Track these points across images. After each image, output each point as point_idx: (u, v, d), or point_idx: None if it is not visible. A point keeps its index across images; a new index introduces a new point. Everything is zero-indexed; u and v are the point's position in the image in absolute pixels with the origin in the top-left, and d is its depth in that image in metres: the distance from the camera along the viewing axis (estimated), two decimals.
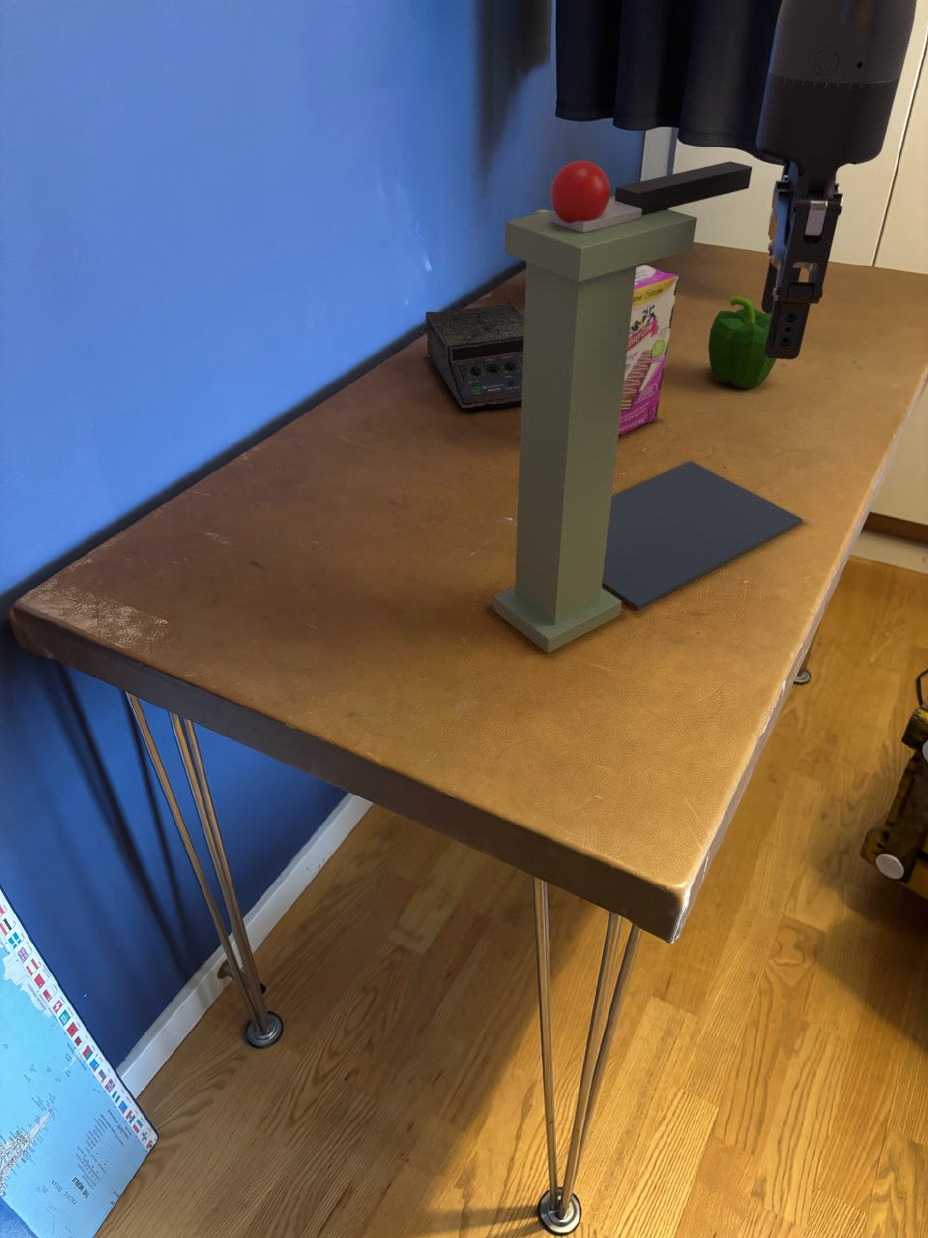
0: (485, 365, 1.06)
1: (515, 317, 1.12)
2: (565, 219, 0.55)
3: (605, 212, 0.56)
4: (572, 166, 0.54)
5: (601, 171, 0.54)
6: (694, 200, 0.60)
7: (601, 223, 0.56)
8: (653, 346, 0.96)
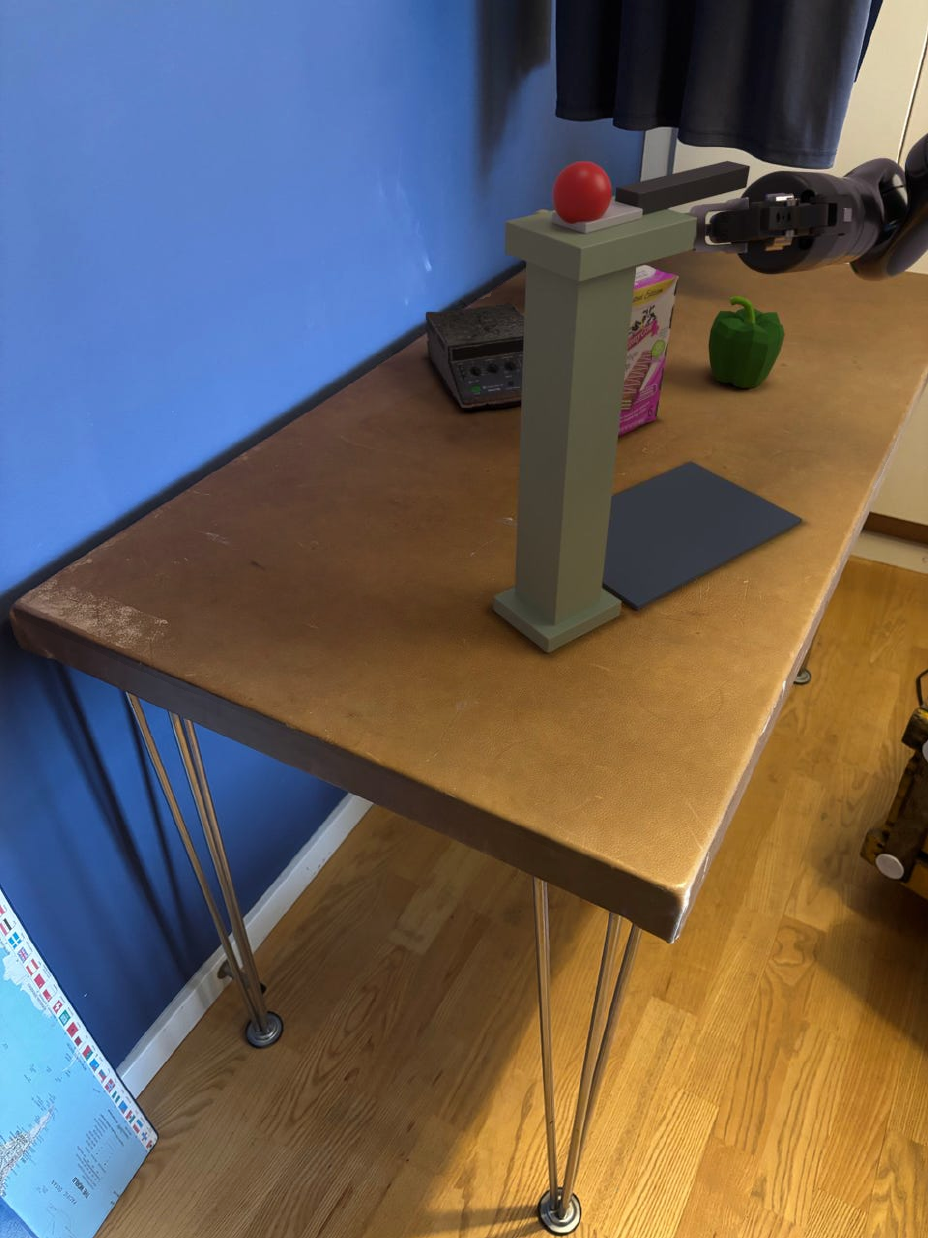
0: (485, 365, 1.06)
1: (515, 317, 1.12)
2: (567, 220, 0.55)
3: (606, 212, 0.56)
4: (574, 167, 0.54)
5: (603, 171, 0.54)
6: (693, 200, 0.60)
7: (603, 223, 0.55)
8: (653, 346, 0.96)
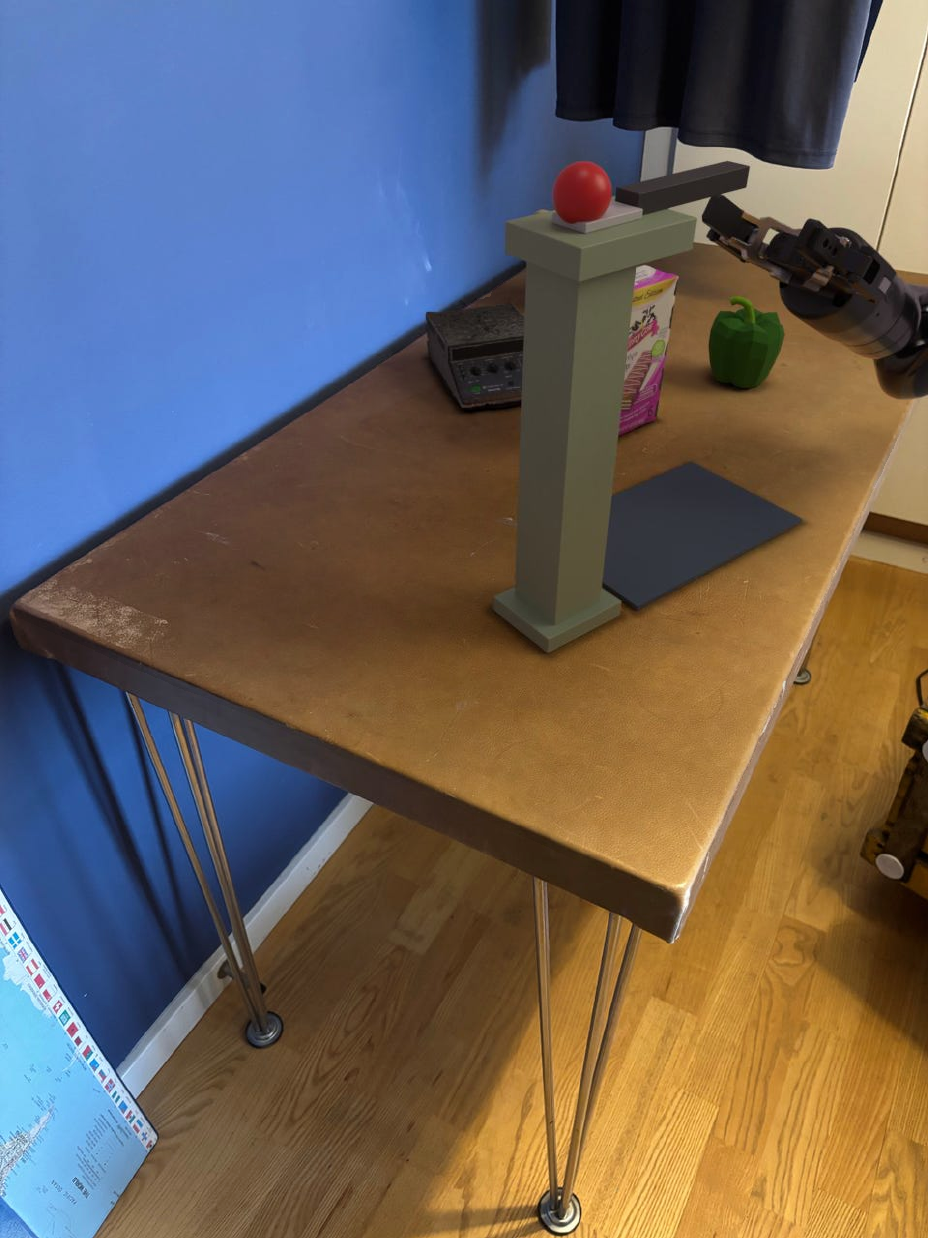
0: (485, 365, 1.06)
1: (515, 317, 1.12)
2: (567, 220, 0.55)
3: (606, 212, 0.56)
4: (574, 167, 0.54)
5: (603, 171, 0.54)
6: (693, 200, 0.60)
7: (603, 223, 0.55)
8: (653, 346, 0.96)
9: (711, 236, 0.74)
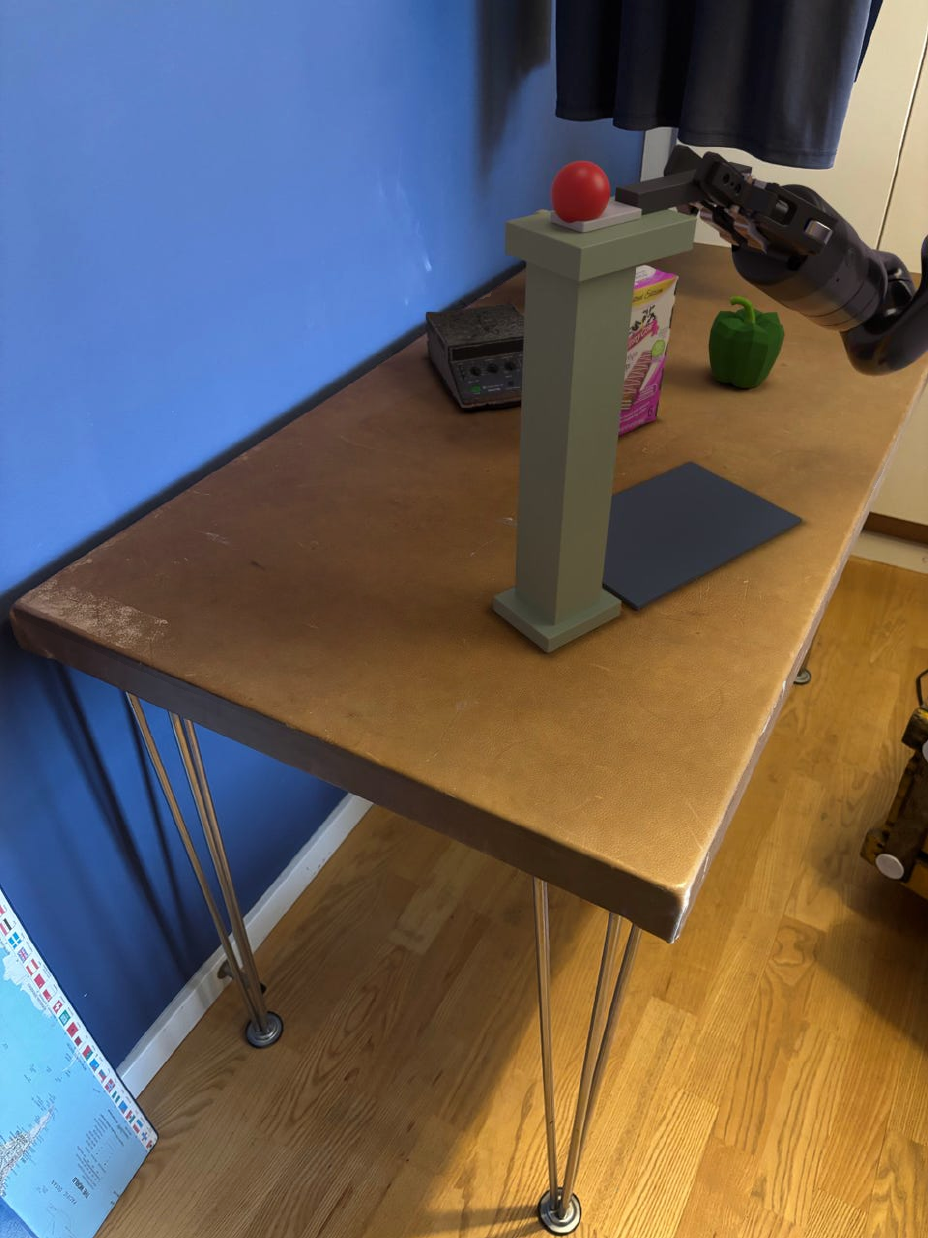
0: (485, 365, 1.06)
1: (515, 317, 1.12)
2: (565, 219, 0.55)
3: (605, 212, 0.56)
4: (572, 166, 0.54)
5: (601, 171, 0.54)
6: (694, 200, 0.60)
7: (601, 223, 0.55)
8: (653, 346, 0.96)
9: None
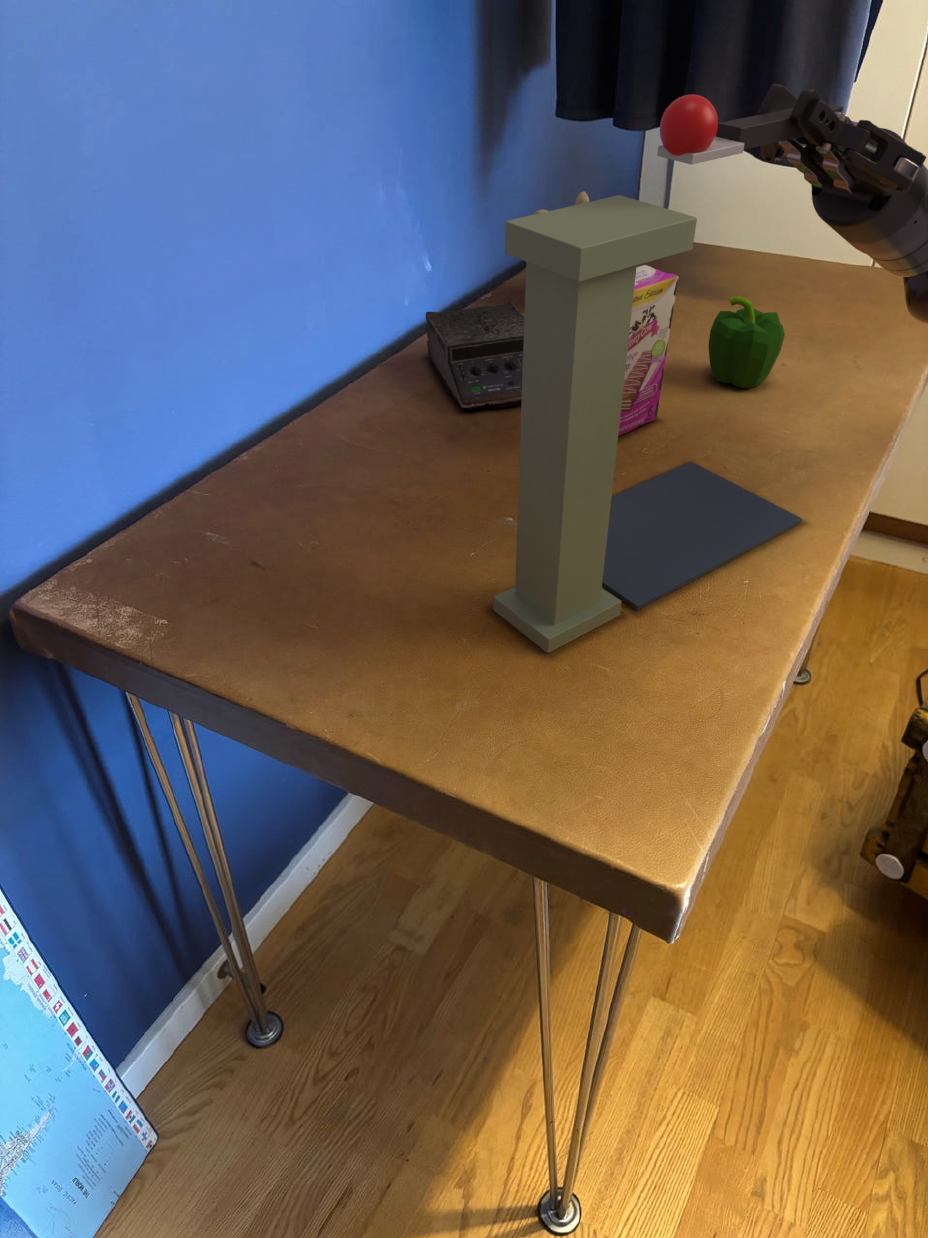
0: (485, 365, 1.06)
1: (515, 317, 1.12)
2: (674, 151, 0.58)
3: (710, 146, 0.59)
4: (684, 99, 0.56)
5: (711, 104, 0.57)
6: (790, 137, 0.63)
7: (708, 155, 0.58)
8: (653, 346, 0.96)
9: None
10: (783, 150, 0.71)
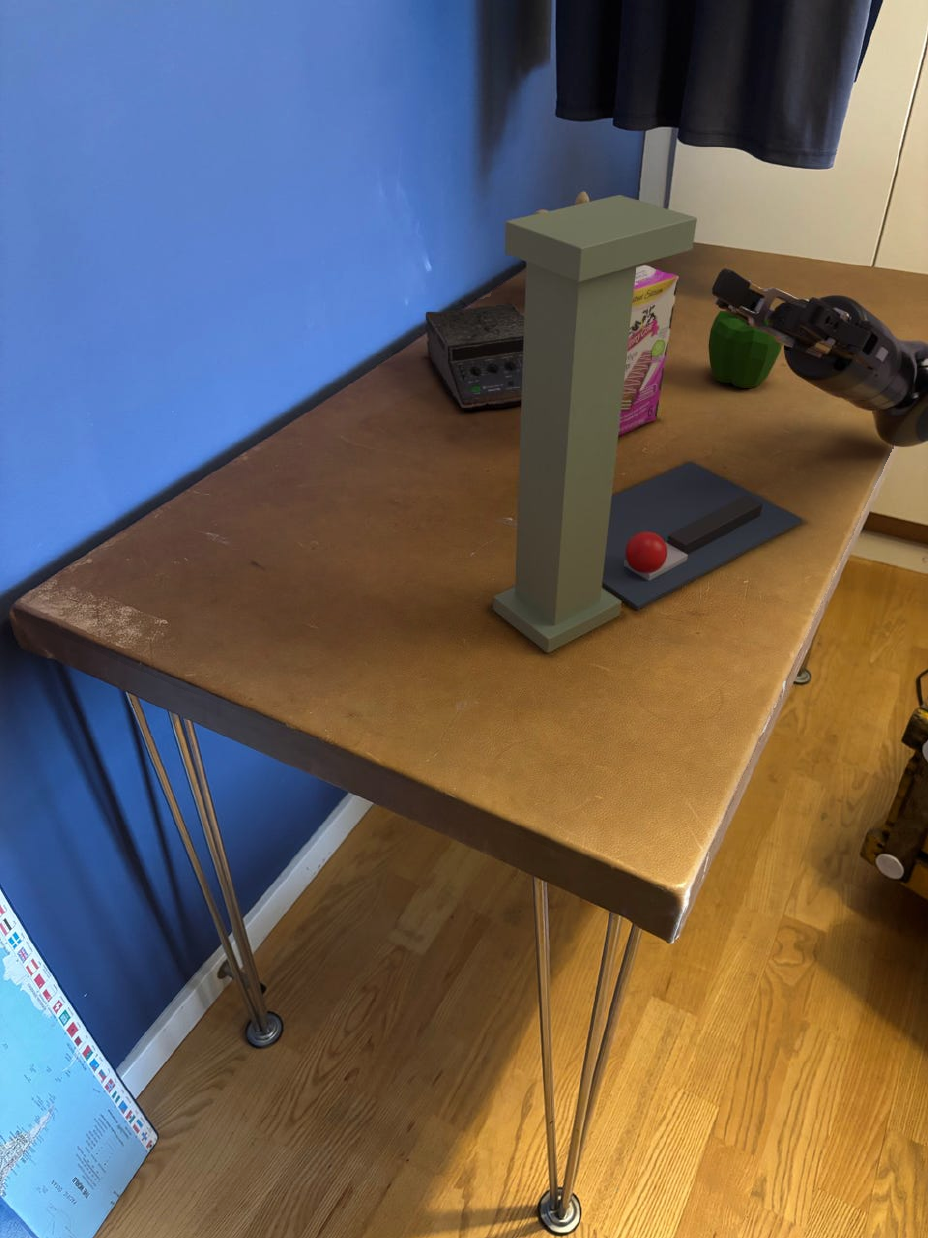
0: (485, 365, 1.06)
1: (515, 317, 1.12)
2: (636, 570, 0.79)
3: None
4: (642, 540, 0.77)
5: (662, 542, 0.78)
6: (722, 535, 0.84)
7: (661, 572, 0.79)
8: (653, 346, 0.96)
9: (720, 304, 0.79)
10: None
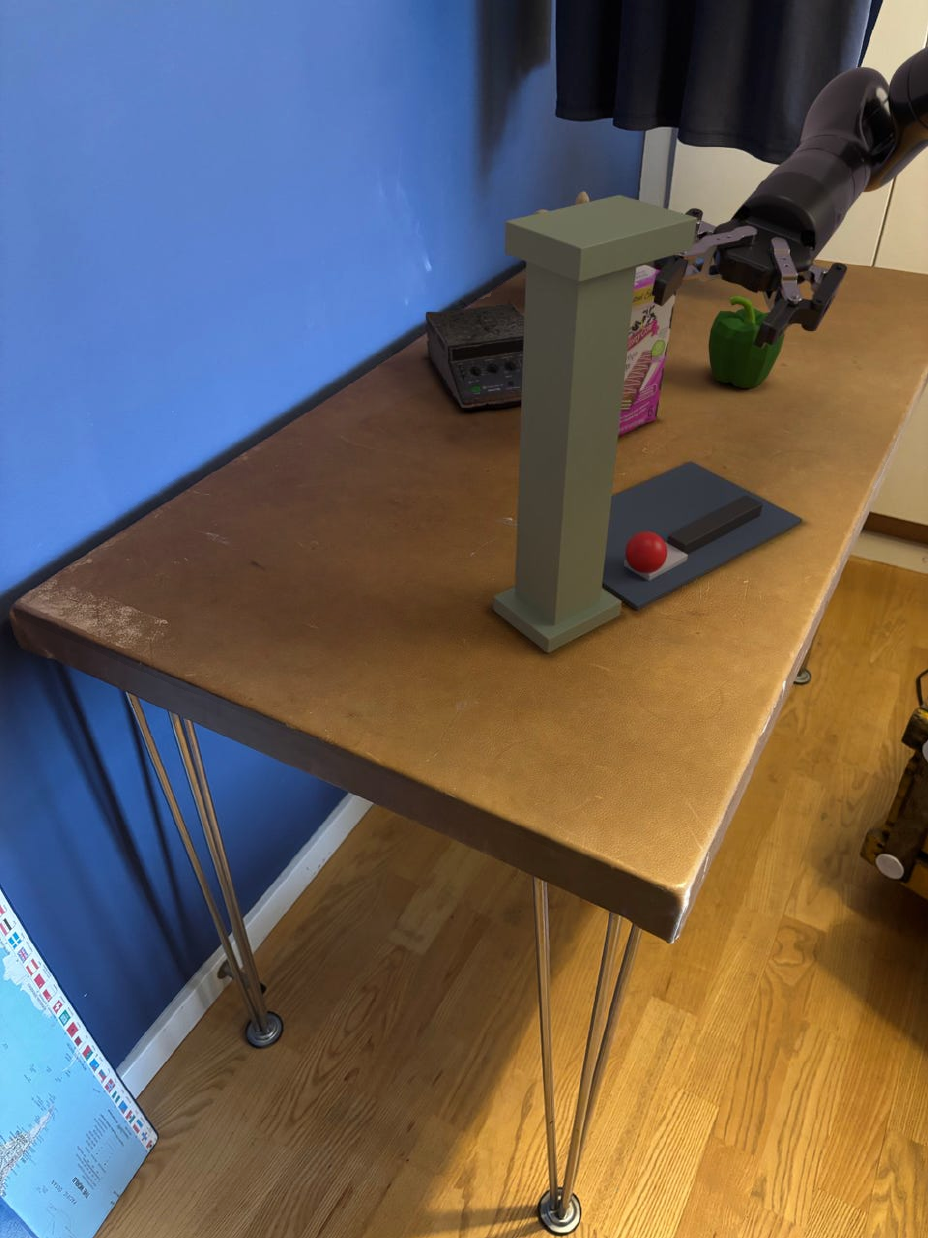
0: (485, 365, 1.06)
1: (515, 317, 1.12)
2: (636, 570, 0.79)
3: None
4: (642, 540, 0.77)
5: (662, 542, 0.78)
6: (722, 535, 0.84)
7: (661, 572, 0.79)
8: (653, 346, 0.96)
9: (659, 268, 0.74)
10: (694, 242, 0.75)
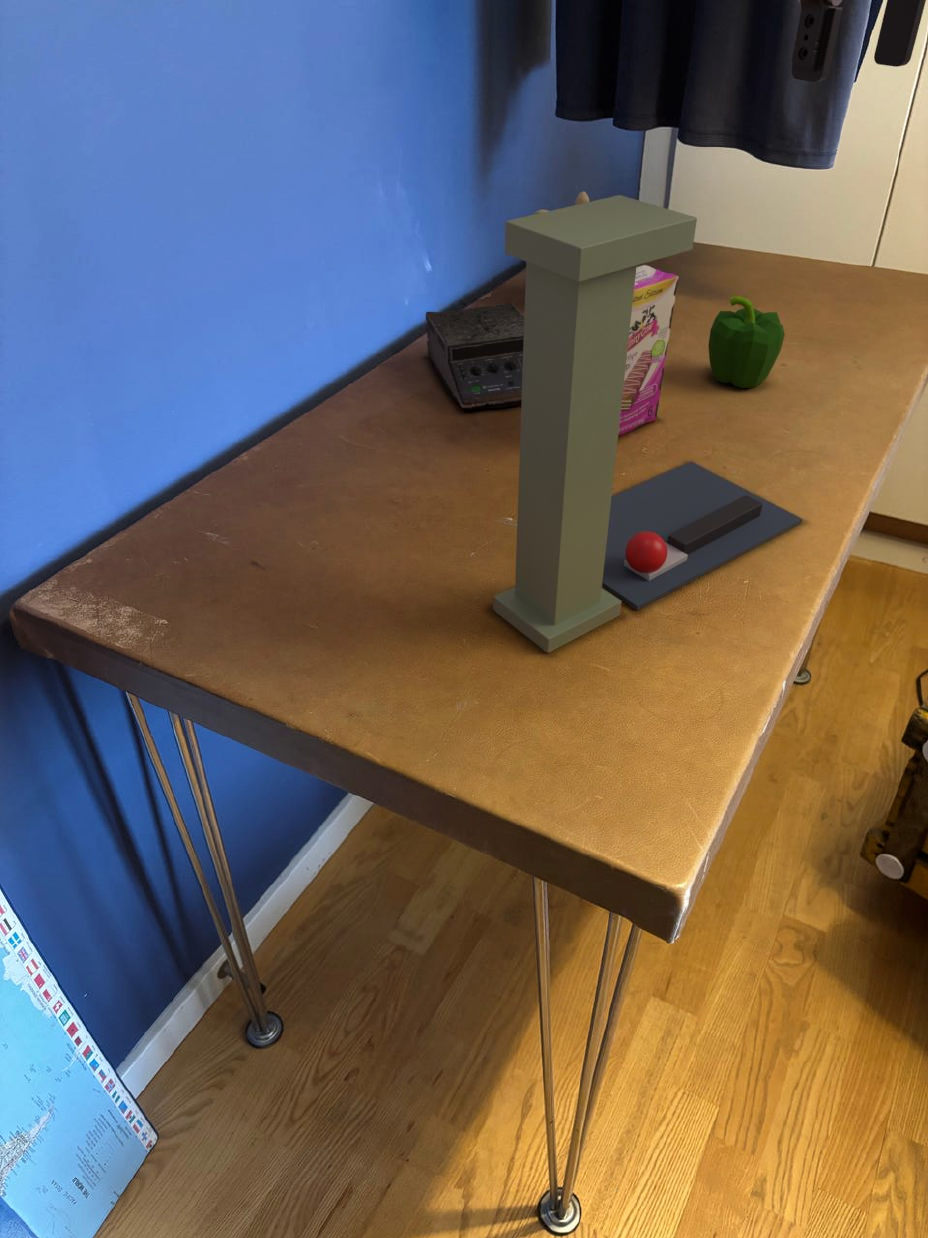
0: (485, 365, 1.06)
1: (515, 317, 1.12)
2: (636, 570, 0.79)
3: None
4: (642, 540, 0.77)
5: (662, 542, 0.78)
6: (722, 535, 0.84)
7: (661, 572, 0.79)
8: (653, 346, 0.96)
9: None
10: None
